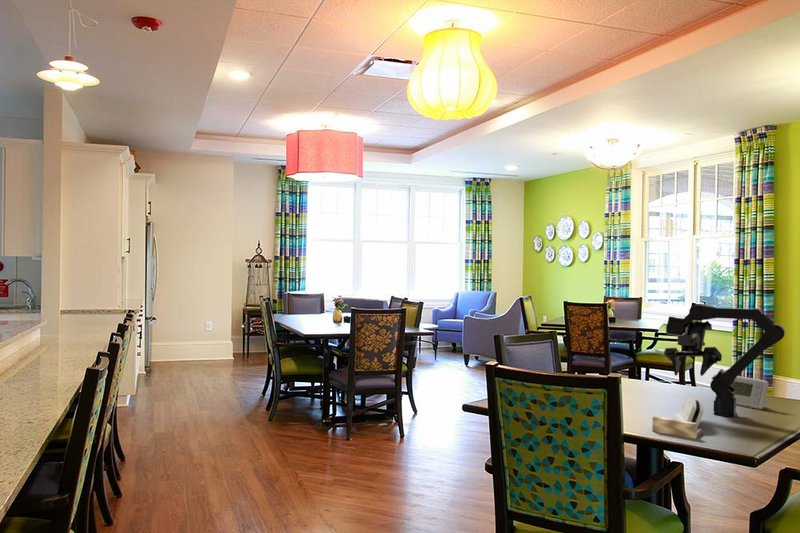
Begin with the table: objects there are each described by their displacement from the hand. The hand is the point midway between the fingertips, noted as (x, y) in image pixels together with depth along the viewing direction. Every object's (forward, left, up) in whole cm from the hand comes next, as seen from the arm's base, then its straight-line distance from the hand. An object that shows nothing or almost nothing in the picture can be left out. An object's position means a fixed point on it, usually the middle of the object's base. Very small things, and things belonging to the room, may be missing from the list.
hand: (688, 375), depth 235 cm
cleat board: (-4, +26, -15) cm, 30 cm away
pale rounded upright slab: (-4, +12, -15) cm, 20 cm away
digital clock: (-12, -34, -15) cm, 39 cm away
